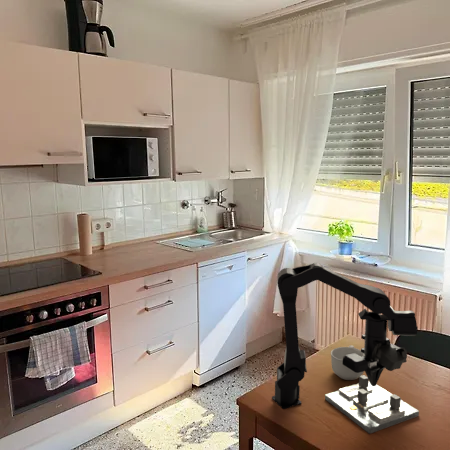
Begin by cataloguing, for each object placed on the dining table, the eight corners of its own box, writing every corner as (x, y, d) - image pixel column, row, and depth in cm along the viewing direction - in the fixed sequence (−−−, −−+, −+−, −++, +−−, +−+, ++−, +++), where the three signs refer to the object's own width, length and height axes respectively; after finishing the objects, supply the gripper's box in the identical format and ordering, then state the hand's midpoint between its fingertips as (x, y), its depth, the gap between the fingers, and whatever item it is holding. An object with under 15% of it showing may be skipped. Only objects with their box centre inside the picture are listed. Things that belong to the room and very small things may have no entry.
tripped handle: (362, 403, 118) (362, 393, 117) (357, 400, 119) (357, 390, 119) (367, 402, 118) (367, 392, 118) (362, 398, 120) (362, 388, 120)
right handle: (395, 409, 115) (395, 399, 114) (389, 405, 117) (390, 395, 116) (400, 407, 116) (400, 397, 115) (394, 404, 117) (394, 394, 117)
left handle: (363, 388, 126) (364, 379, 125) (358, 385, 127) (359, 376, 127) (368, 387, 126) (368, 377, 126) (363, 384, 128) (363, 374, 128)
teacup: (357, 387, 131) (358, 363, 130) (324, 377, 138) (325, 354, 137) (371, 370, 142) (372, 347, 141) (341, 361, 149) (341, 340, 148)
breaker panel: (369, 433, 109) (369, 424, 108) (325, 399, 125) (325, 391, 124) (418, 415, 116) (419, 407, 116) (370, 385, 132) (371, 377, 132)
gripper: (371, 351, 106) (369, 408, 109) (423, 338, 114) (420, 391, 117) (342, 335, 116) (340, 388, 119) (391, 324, 124) (388, 373, 126)
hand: (373, 385), depth 120 cm, fingers closed
